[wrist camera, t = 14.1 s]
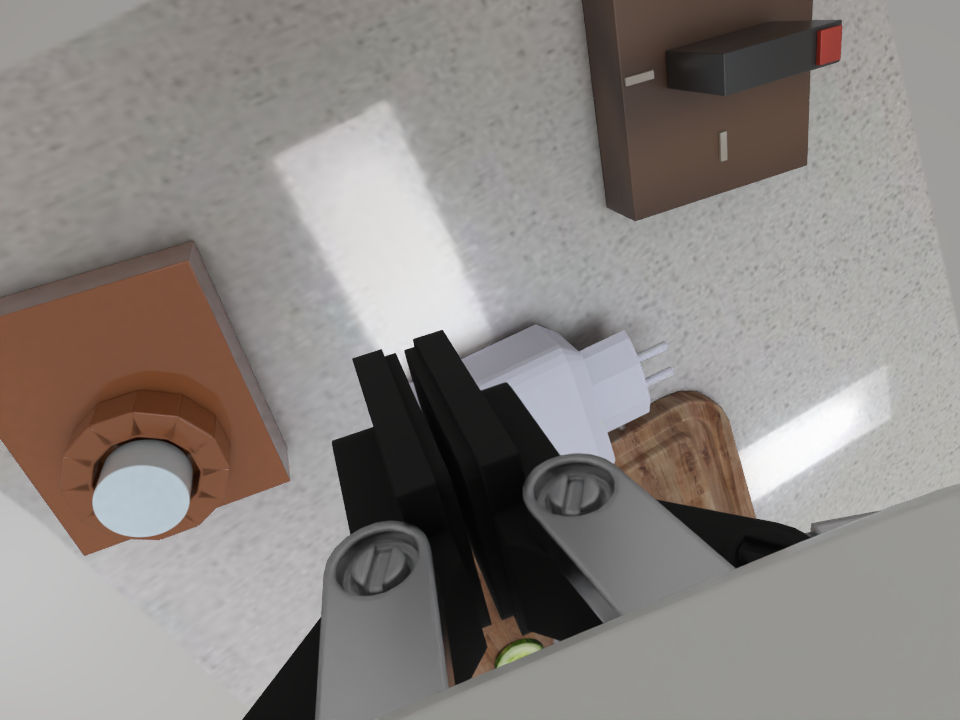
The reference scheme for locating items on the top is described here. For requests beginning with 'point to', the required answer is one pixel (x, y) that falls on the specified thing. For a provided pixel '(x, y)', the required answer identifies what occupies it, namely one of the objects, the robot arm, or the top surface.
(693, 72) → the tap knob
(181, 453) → the round grey push button
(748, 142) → the brown flat block
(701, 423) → the chopping board
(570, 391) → the charger
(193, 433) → the brown base with collar
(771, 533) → the robot arm
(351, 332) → the top surface
